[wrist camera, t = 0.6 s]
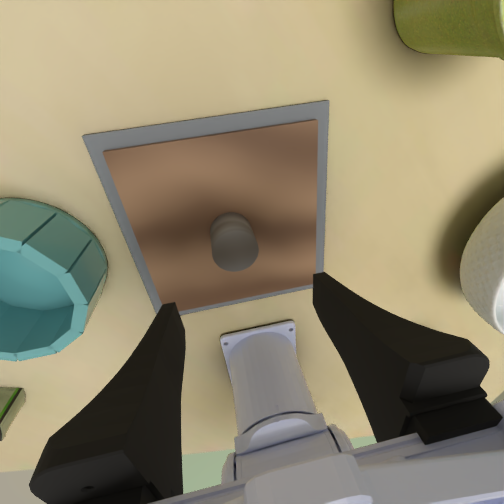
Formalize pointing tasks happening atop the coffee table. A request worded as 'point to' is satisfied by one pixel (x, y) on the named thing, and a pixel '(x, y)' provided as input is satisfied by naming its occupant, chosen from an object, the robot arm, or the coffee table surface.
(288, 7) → the coffee table surface
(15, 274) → the teal bowl
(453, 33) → the plant pot
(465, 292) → the cereal bowl
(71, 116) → the coffee table surface
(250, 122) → the rubber mat
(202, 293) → the walnut lid
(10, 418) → the medication box
